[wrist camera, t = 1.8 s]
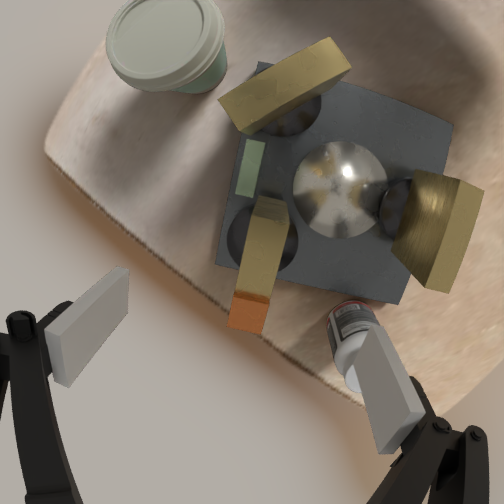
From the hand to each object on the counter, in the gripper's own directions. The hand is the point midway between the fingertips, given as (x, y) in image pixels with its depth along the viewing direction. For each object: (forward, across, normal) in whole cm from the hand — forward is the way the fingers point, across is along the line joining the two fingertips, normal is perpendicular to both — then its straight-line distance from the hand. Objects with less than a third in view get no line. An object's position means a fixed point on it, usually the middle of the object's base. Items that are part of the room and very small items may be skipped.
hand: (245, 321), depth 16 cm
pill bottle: (+17, +12, -8) cm, 23 cm away
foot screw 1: (+15, -1, +13) cm, 20 cm away
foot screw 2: (+15, +13, +6) cm, 21 cm away
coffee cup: (+17, -10, +15) cm, 25 cm away
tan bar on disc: (+15, 0, 0) cm, 15 cm away
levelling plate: (+17, +6, +6) cm, 19 cm away
